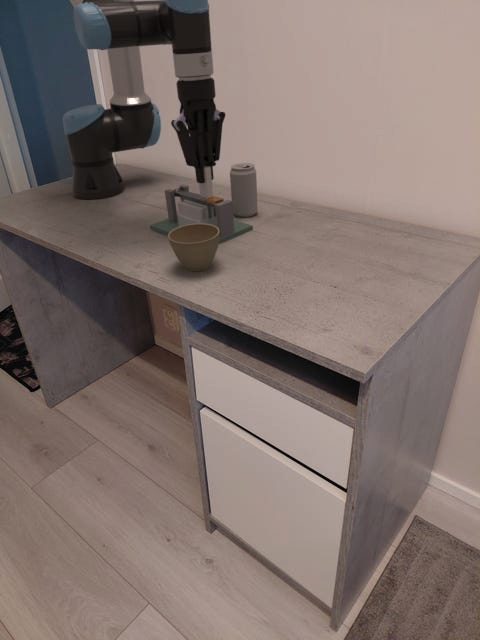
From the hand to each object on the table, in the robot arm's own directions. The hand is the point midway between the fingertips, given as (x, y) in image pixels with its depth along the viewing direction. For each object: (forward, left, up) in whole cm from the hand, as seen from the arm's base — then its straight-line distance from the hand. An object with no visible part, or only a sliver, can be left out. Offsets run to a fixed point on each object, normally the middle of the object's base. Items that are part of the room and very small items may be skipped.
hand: (206, 196), depth 105 cm
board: (-4, 0, -9) cm, 9 cm away
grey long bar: (-4, 0, -2) cm, 4 cm away
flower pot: (+11, -13, -9) cm, 20 cm away
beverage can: (-3, +14, -9) cm, 17 cm away
